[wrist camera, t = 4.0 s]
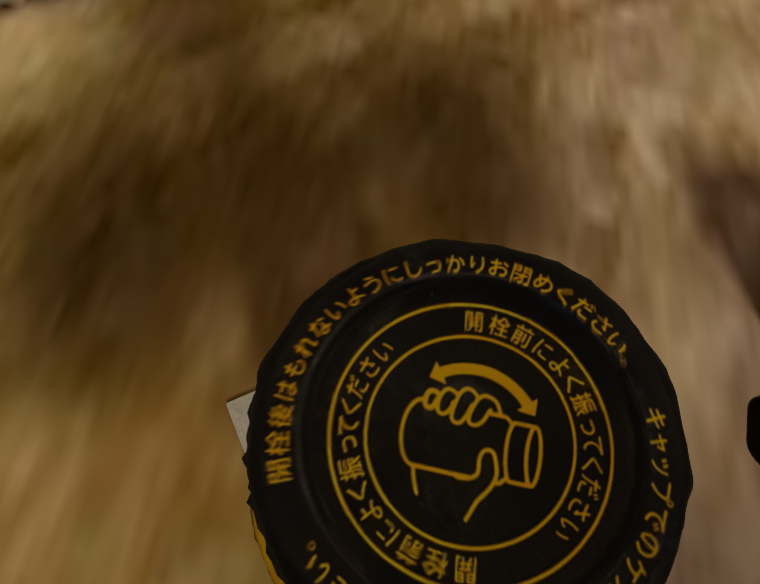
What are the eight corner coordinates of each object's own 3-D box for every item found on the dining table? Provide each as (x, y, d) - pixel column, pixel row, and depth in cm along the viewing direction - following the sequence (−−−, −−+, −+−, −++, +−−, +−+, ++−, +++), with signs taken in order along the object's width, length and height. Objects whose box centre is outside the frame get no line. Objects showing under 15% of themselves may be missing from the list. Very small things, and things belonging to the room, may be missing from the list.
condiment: (338, 699, 16) (302, 980, 5) (226, 404, 19) (52, 179, 8) (575, 568, 17) (946, 564, 7) (437, 313, 20) (533, 19, 10)
